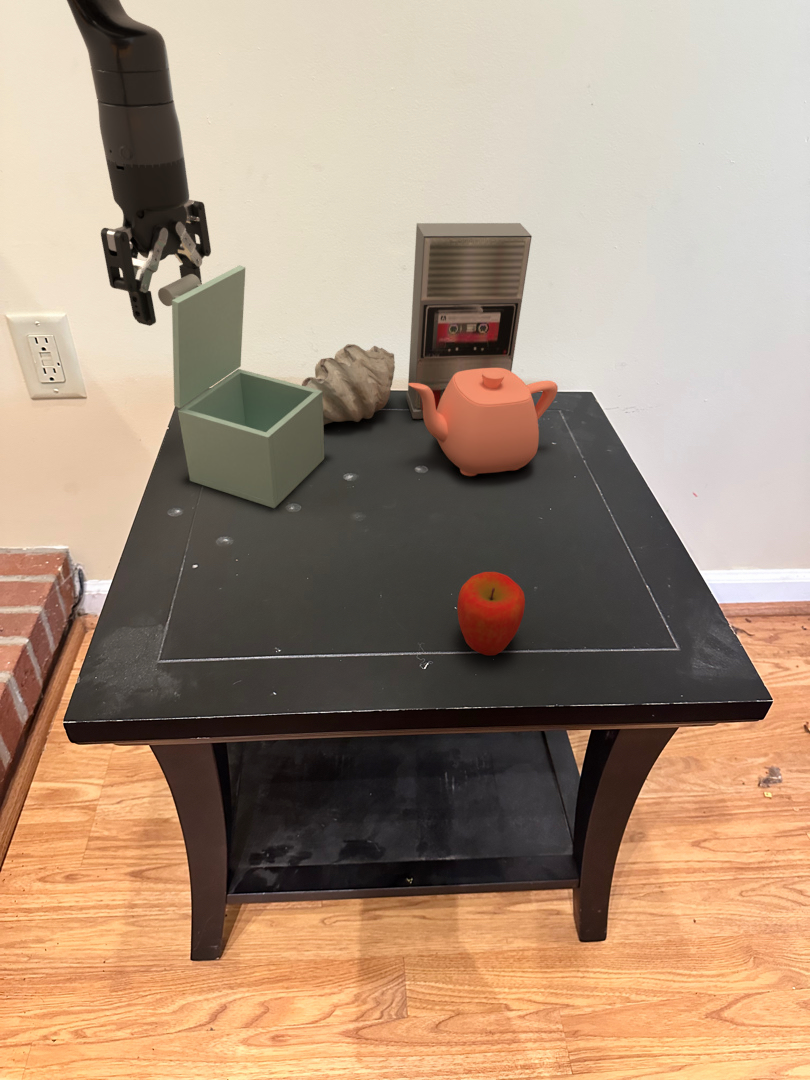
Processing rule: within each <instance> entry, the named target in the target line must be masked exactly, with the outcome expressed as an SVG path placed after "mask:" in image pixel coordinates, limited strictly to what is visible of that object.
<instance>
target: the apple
mask: <svg viewBox="0 0 810 1080" xmlns="http://www.w3.org/2000/svg"><path fill="white" fill-rule="evenodd" d="M525 607H526V598H525V592H524V590H523V589H522V588H521V586H520V585H519V584H518V583H517V582H516V581H515V580H513V579H512V578H511V577H510V576H509V575H507V574H503V573H501V572H498V571H483V572H480V573H477V574H474V575H472V576H471V577H470V578H469V579H467V581H466V582H465V583H464V584H463V585H462V586H461V588H460V590H459V592H458V597H457V618H458V624H459V628H460V631H461V634H462V637H463V638H464V640H465V643H466V644H467V646H469V648H470V649H471V650H473V651H475V652H476V653H478V654H481V655H484V656H485V657H486V656H496V655H498V654H499V653H500V654H501V653H502V652H503V651H504V650H505V649H506V648H507V647H508V645H509V644H510V643H511V641H512V640H513V639H514V637H515V636H516V634H517V632H518V631H519V629H520V625H521V623H522V621H523V617H524V612H525Z"/></svg>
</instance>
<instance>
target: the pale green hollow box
mask: <svg viewBox="0 0 810 1080" xmlns="http://www.w3.org/2000/svg"><path fill="white" fill-rule="evenodd" d="M177 414H178V420H179V426H180V430H181V438H182V441H183V442H182V443H183V448H184V454H185V461H186V466H187V471H188V476H189V481H190V482H192V483H194V484H198V485H200V486H201V485H202V486H204V487H206V488H207V487H208V488H211V489H212V490H213V489H214V490H216V491H219V492H223V493H226V494H229V495H232V496H235V497H238V498H241V499H244V500H248V501H249V502H254V503H256V504H259V505H261V506H266V507H268V508H272V509H276V508H277V507H278V506H279V504H281V503H282V501H284V500H285V499H286V498H287V497H288V496H289V495H290V494H291V493H292V491H294V490H295V489H296V488H297V487H298V486H299V485H300V484H301V483H302V482H303V481H304V480H305V479H306V478H307V477H308V476H309V475H310V474H311V473H312V472H313V471H314V470H315V469H316V468H317V467H318V466H319V465H320V464H321V463H322V462H323V461H324V460H325V431H324V430H325V429H324V426H325V425H323V393H322V391H320V390H317V389H313V388H309V387H305V386H302V384H298V383H294V382H290V381H286V380H282V379H279V378H274V377H271V376H267V375H264V374H260V373H256V372H252V371H249V370H245V369H241V368H238V369H236V370H235V371H233V372H232V373H230V374H229V375H227V376H226V377H225V378H223V379H222V380H220V381H219V382H217V383H216V384H214V385H213V386H211V387H210V388H209V389H207V390H206V391H204V392H203V393H201V394H200V395H198V396H197V397H196V398H194V399H193V400H191V401H190V402H188V403H187V404H185V405H184V406H183V407H181V408H179V409H178V410H177Z"/></svg>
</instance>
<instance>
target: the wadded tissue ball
mask: <svg viewBox="0 0 810 1080" xmlns="http://www.w3.org/2000/svg"><path fill="white" fill-rule="evenodd" d="M395 365H396V364H395V354H394V353H393V352H390V351H388V350H386V349H384V348H383V347H379V346H376V345H373V346H372V347H371V348H370V349H367V350H365V349H363V348H362V347H360V346H359V345H358V344H353V343H348V344H346V345H344V346H343V347H342V348H340V349H339V350H338V351H337V352H336V353H335V354H334V358H333V357H325V358H321V359H319V361H318V362H317V363H316V364H315V367H314V375H315V377H314V376H310V377H306V378H305V379H303V381H302V382H301V385H302V386H305V387H309V388H313V389H317V390H320V391H322V393H323V425H324V426H325V425H328V424H331V423H333V422H337V423H339V422H341V423H342V422H349V421H350V422H351V421H352V422H356V423H359V422H360V421H361V420H362V419H366V420H369V419H372V418H373V417H374V414H375V413H376V412H378V411H380V410H383V408H385V406H386V405H387V403H388V401H389V399H390V396H391V391H392V390H391V388H392V386H393V380H394V375H395V369H396V366H395Z"/></svg>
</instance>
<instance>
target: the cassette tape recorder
mask: <svg viewBox="0 0 810 1080" xmlns="http://www.w3.org/2000/svg"><path fill="white" fill-rule="evenodd" d="M415 228H416V229H415V246H414V247H415V248H414V264H413V265H414V266H413V286H412V290H413V291H412V302H411V303H412V305H411V323H410V341H409V342H410V343H409V362H408V383H407V391H406V394H405V395H406V397H405V399H406V402H407V405H408V408H409V411H410V414H411V417H412V419H413V420H414V419H415V420H421V419H424V418H423V403H422V398H421V395H420V394H419V393H418V391H416V390H415V389H414V388H412V387H410V386H409V385H408V384H409V383H419V384H423V385H426V386H428V387H429V388H430V389H431V390H432V392H433V394H434V398H435V406H436V411H437V408H438V404H439V402H440V399H441V397H442V395H443V393H444V391H445V389H446V387H447V385H448V383H449V382H450V380H451V378H452V377H453V375H454V374H456V373H457V372H460V371H464V370H471V369H481V368H504V369H507V370H509V371H511V372H512V370H513V365H514V364H513V363H514V357H515V351H516V345H517V338H518V337H517V336H518V331H519V324H520V317H521V310H522V303H523V296H524V292H525V283H526V277H527V271H528V263H529V258H530V257H529V256H530V251H531V244H532V237H533V236H532V234H531V233H530V232H529V231H528V230H527V229H526V227H524V225H523V224H522V223H520V222H466V223H465V222H436V223H435V222H416V227H415Z"/></svg>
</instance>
